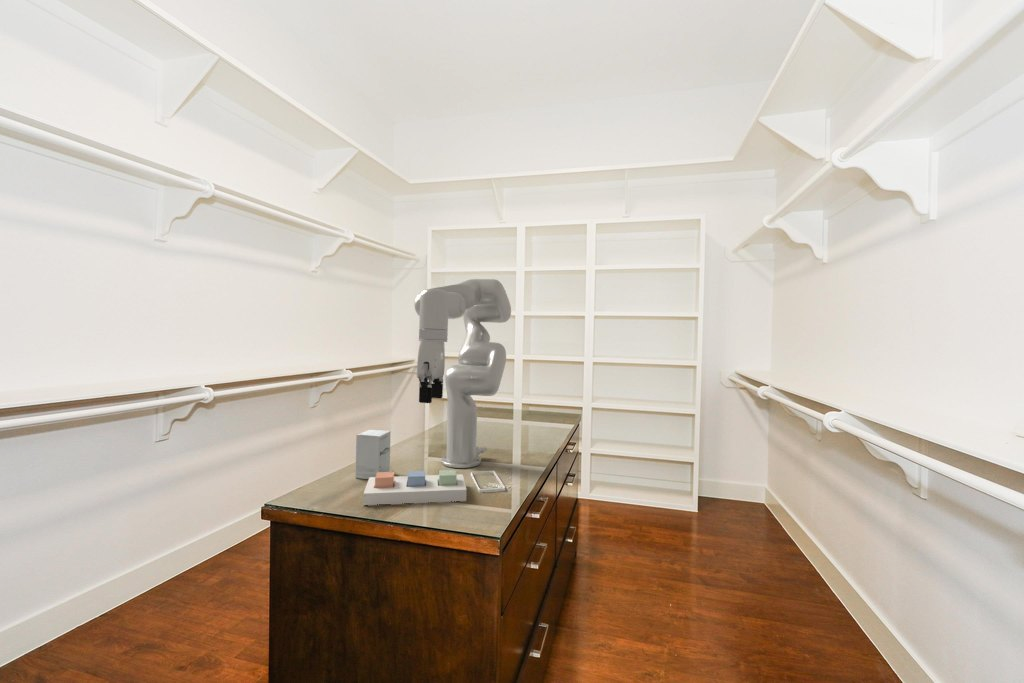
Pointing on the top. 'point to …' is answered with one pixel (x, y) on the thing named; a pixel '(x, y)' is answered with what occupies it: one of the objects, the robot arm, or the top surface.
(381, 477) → the button terracotta
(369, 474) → the supplement box
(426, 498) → the button panel
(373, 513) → the top surface
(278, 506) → the top surface
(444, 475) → the button sage
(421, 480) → the button slate
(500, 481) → the white rectangular frame
